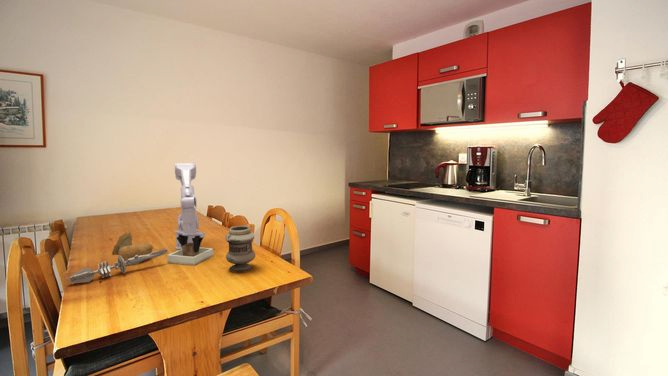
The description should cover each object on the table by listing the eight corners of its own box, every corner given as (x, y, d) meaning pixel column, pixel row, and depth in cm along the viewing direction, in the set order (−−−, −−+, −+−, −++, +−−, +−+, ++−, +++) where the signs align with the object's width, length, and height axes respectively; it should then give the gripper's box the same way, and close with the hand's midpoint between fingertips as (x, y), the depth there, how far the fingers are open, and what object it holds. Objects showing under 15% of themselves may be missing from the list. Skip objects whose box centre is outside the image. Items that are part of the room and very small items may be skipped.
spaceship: (170, 248, 141) (163, 238, 146) (69, 278, 117) (64, 265, 122) (171, 262, 145) (164, 252, 149) (72, 294, 120) (67, 281, 125)
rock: (113, 252, 154) (135, 245, 161) (107, 237, 156) (130, 231, 163) (112, 260, 162) (134, 253, 168) (107, 245, 164) (129, 239, 170)
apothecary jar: (225, 275, 132) (224, 231, 130) (227, 265, 143) (225, 225, 141) (256, 272, 135) (255, 230, 133) (255, 262, 146) (254, 223, 144)
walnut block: (183, 258, 149) (182, 246, 148) (190, 254, 154) (189, 242, 153) (192, 259, 148) (191, 246, 147) (199, 255, 153) (198, 243, 152)
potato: (157, 259, 150) (156, 242, 149) (123, 268, 140) (121, 249, 139) (148, 255, 157) (147, 239, 156) (115, 263, 146) (113, 245, 145)
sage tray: (167, 262, 146) (167, 255, 146) (188, 253, 160) (188, 246, 159) (194, 265, 143) (193, 257, 142) (213, 255, 156) (213, 248, 156)
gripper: (169, 223, 147) (171, 252, 149) (197, 225, 143) (198, 255, 145) (180, 220, 154) (182, 248, 155) (207, 222, 150) (208, 250, 152)
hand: (190, 251), depth 151 cm, fingers open, 6 cm apart
